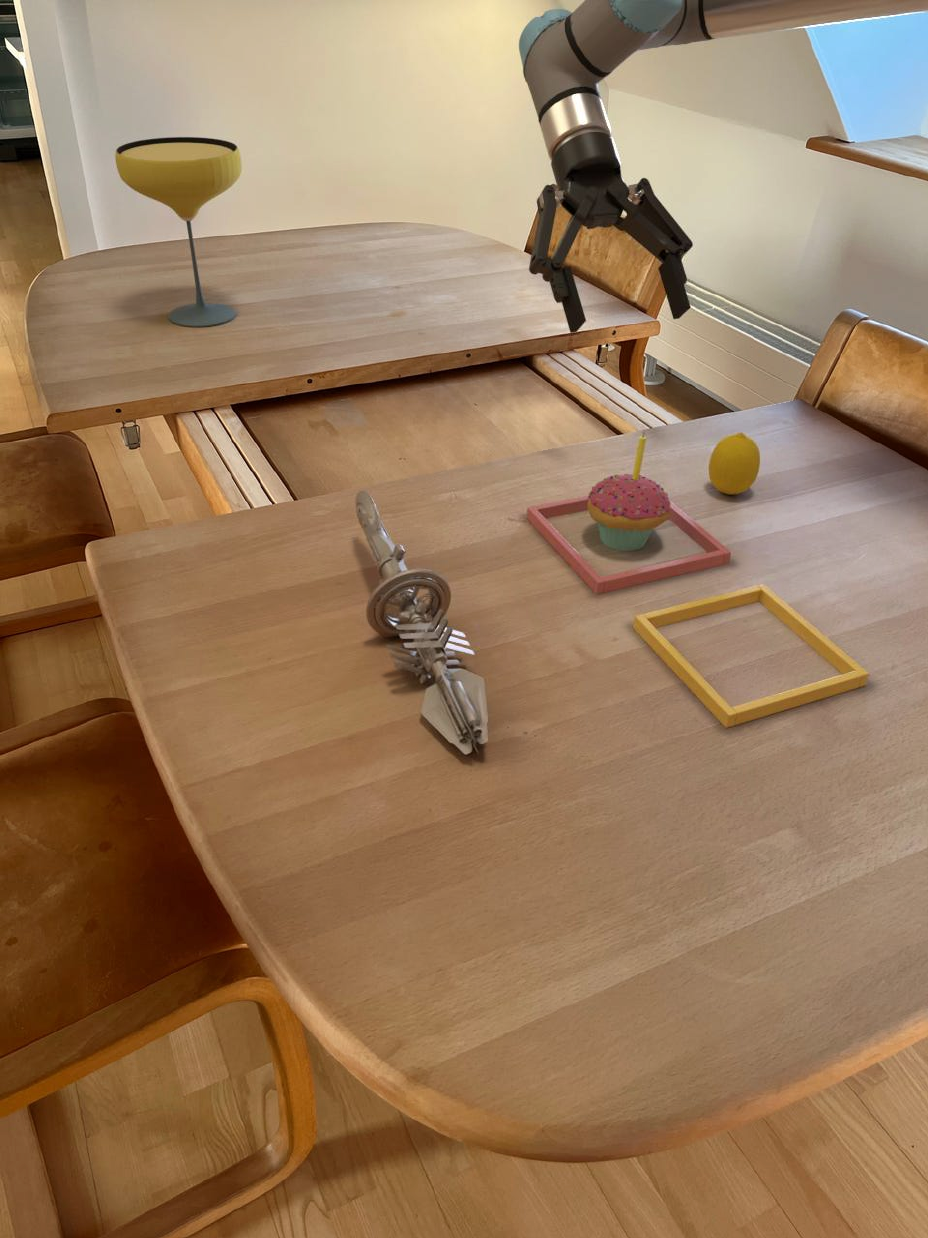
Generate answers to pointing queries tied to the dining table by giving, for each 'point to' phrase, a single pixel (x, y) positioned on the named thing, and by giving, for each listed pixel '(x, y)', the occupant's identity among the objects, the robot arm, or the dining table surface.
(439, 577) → the spaceship
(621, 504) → the cupcake
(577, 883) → the dining table surface
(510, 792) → the dining table surface
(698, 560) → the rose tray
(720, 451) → the lemon
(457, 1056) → the dining table surface
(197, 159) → the cocktail glass
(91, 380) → the dining table surface
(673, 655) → the yellow square frame
